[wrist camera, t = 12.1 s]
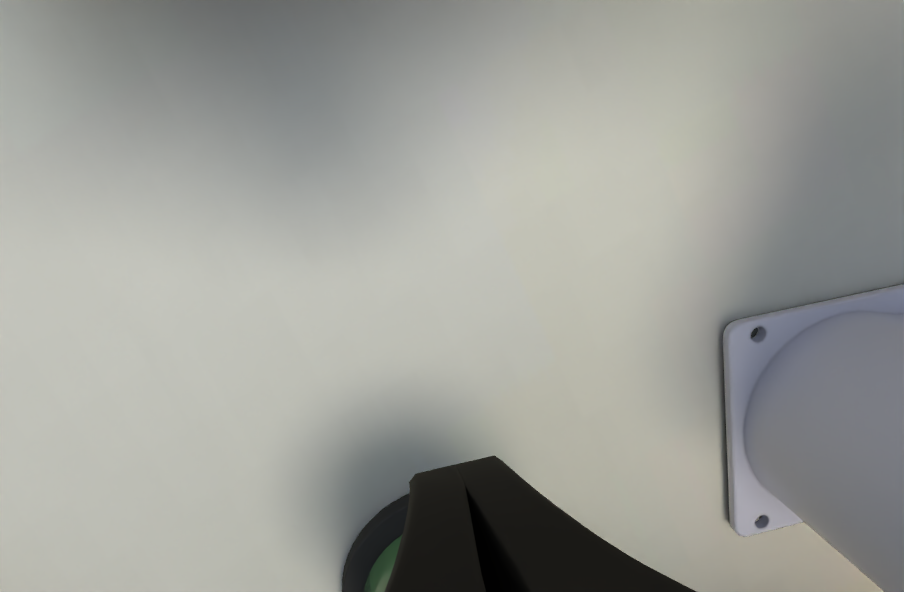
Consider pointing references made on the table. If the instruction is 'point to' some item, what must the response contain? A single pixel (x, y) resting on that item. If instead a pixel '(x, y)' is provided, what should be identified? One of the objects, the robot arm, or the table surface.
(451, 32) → the table surface
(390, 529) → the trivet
